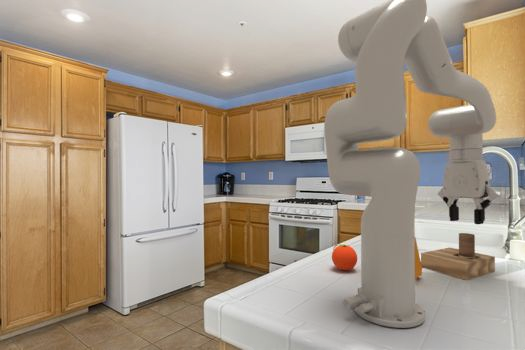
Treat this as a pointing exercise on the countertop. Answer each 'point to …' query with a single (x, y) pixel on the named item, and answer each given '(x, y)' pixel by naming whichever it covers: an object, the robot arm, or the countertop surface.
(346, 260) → the clementine
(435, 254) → the board
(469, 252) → the peg
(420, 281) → the countertop surface
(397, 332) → the countertop surface
